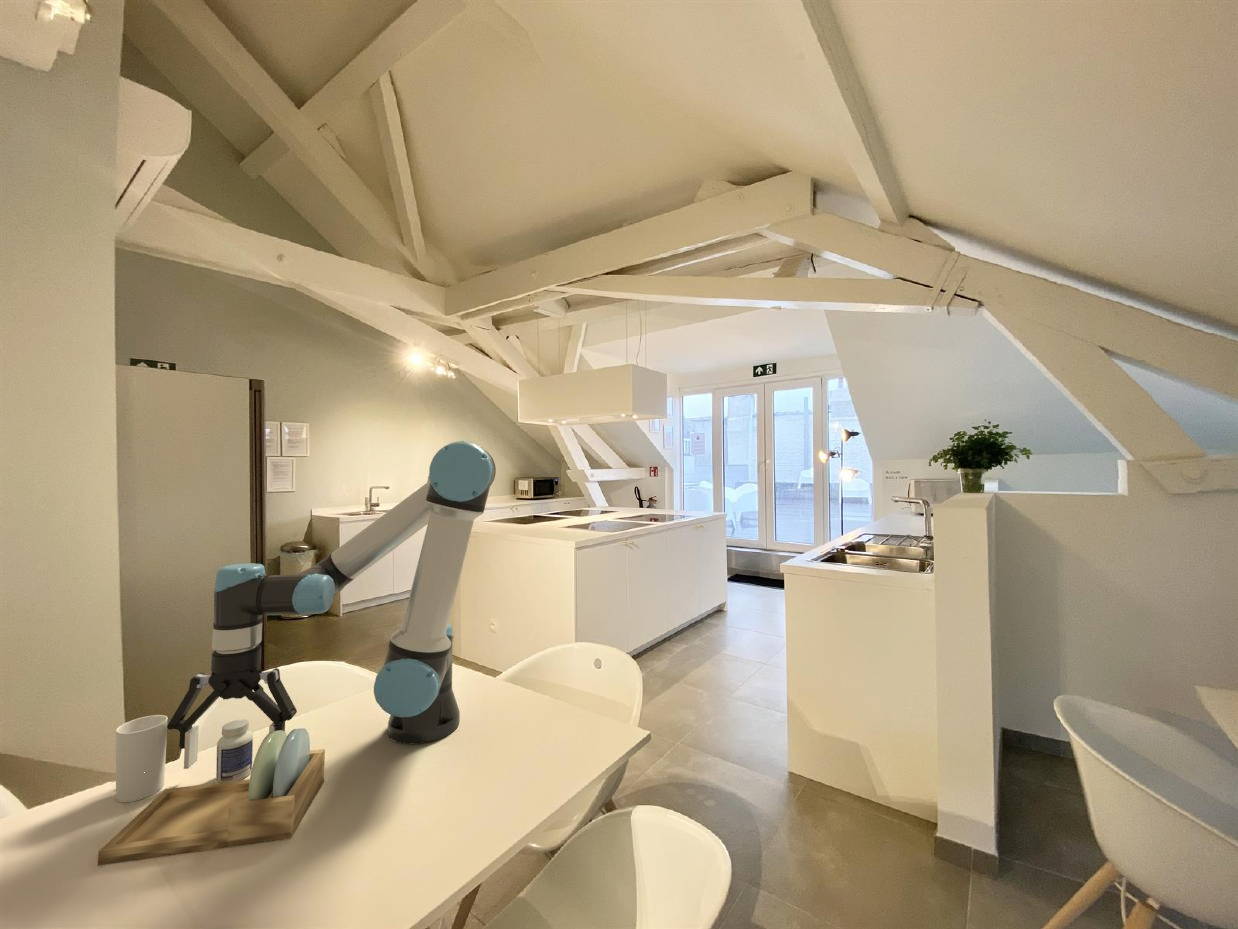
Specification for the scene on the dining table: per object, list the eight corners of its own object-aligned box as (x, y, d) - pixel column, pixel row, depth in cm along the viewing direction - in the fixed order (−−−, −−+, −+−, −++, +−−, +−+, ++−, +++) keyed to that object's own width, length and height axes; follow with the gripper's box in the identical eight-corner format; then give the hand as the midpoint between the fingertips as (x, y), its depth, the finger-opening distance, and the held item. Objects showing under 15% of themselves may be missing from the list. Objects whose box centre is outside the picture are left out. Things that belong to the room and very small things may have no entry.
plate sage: (288, 785, 90) (289, 717, 91) (256, 831, 79) (257, 753, 79) (280, 786, 90) (282, 718, 90) (247, 832, 78) (249, 754, 79)
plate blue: (309, 782, 91) (310, 715, 91) (280, 827, 80) (282, 751, 80) (301, 783, 91) (303, 716, 91) (272, 829, 79) (273, 751, 80)
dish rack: (324, 781, 93) (324, 749, 93) (290, 838, 78) (291, 800, 79) (165, 800, 87) (166, 765, 88) (97, 865, 73) (98, 823, 73)
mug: (151, 800, 88) (153, 730, 88) (103, 807, 86) (105, 735, 86) (183, 768, 97) (185, 705, 98) (141, 773, 95) (143, 709, 96)
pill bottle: (258, 771, 96) (260, 720, 97) (229, 787, 91) (230, 733, 91) (239, 766, 98) (240, 715, 98) (209, 781, 93) (210, 728, 93)
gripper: (317, 637, 102) (313, 744, 101) (172, 644, 96) (167, 756, 95) (303, 650, 94) (298, 765, 94) (145, 658, 89) (139, 780, 88)
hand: (232, 761), depth 95 cm, fingers open, 13 cm apart
